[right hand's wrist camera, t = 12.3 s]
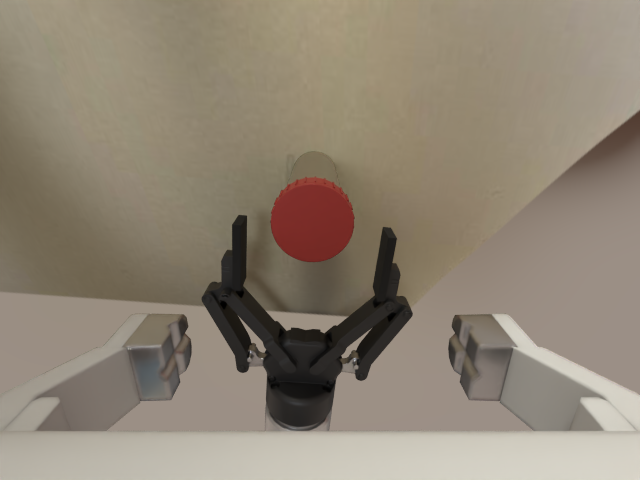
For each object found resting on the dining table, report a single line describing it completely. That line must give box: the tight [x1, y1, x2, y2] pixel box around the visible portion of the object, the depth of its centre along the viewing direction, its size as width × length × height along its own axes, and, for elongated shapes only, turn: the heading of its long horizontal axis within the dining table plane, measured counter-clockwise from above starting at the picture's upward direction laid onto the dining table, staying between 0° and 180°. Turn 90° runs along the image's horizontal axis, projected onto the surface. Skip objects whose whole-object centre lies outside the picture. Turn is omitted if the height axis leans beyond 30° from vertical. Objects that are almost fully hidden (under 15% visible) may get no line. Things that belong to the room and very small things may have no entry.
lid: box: [270, 176, 354, 262], centre depth 22 cm, size 5×5×2 cm
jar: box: [288, 152, 340, 188], centre depth 29 cm, size 4×4×15 cm
